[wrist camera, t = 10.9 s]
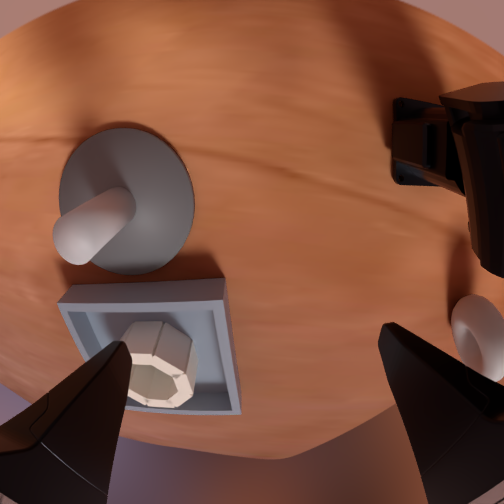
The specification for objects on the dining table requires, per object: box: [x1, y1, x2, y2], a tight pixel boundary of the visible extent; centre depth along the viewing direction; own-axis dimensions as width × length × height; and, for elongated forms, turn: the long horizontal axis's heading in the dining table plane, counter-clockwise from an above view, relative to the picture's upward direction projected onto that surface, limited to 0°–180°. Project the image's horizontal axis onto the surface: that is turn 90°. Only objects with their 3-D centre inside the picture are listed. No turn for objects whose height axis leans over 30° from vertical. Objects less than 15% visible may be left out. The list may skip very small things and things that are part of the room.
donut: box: [451, 294, 504, 382], centre depth 20 cm, size 10×3×10 cm, turn 28°
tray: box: [57, 278, 241, 415], centre depth 23 cm, size 14×14×3 cm
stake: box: [53, 128, 195, 275], centre depth 16 cm, size 11×11×7 cm
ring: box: [120, 321, 198, 408], centre depth 22 cm, size 7×9×4 cm
